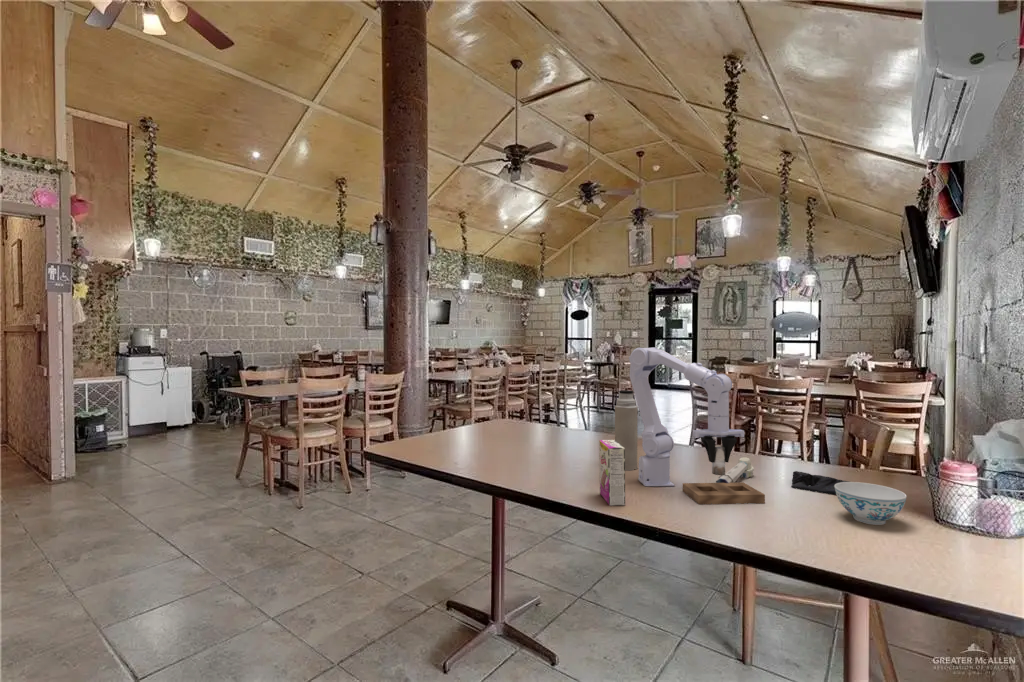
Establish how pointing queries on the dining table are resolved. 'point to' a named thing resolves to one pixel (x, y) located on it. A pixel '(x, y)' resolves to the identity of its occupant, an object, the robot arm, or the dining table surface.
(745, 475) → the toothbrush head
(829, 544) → the dining table surface
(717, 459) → the steel pin
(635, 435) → the thermos bottle
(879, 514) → the chinaware
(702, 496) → the wooden holder tray
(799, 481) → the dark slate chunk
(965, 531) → the dining table surface
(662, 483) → the robot arm
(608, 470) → the candy bar box
